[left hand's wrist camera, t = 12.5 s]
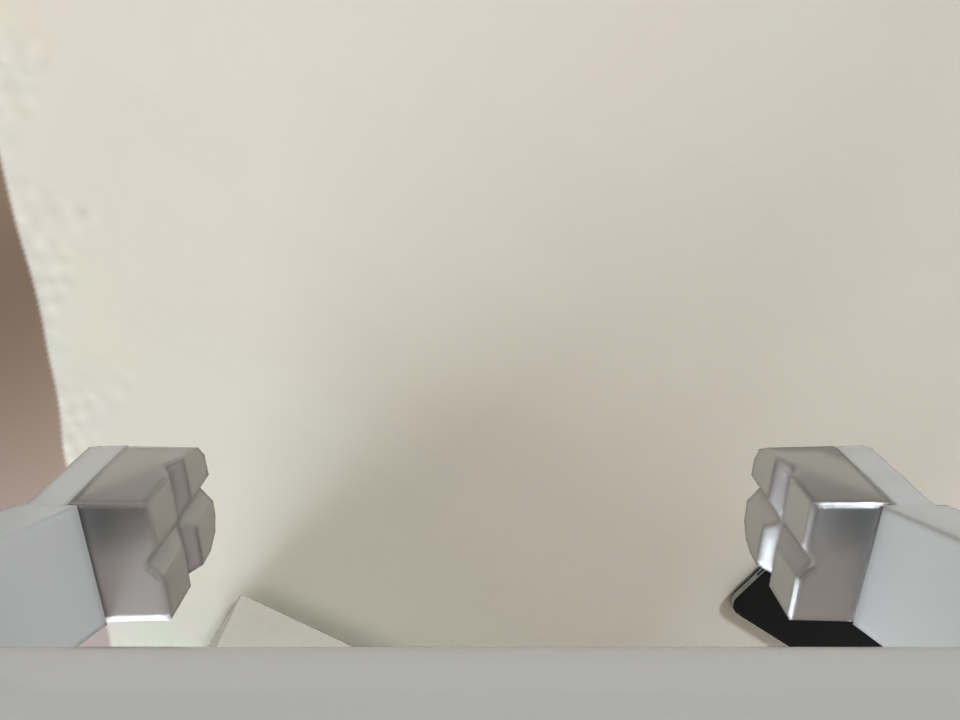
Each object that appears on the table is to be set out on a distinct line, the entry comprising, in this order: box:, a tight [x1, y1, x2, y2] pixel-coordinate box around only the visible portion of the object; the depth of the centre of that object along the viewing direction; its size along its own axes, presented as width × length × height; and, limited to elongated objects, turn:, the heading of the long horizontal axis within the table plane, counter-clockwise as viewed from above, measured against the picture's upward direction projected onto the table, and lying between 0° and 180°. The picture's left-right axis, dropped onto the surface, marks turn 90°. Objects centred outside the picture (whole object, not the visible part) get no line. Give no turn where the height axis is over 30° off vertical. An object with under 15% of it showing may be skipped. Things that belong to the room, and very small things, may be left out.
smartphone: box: [731, 568, 883, 647], centre depth 50 cm, size 7×1×15 cm
